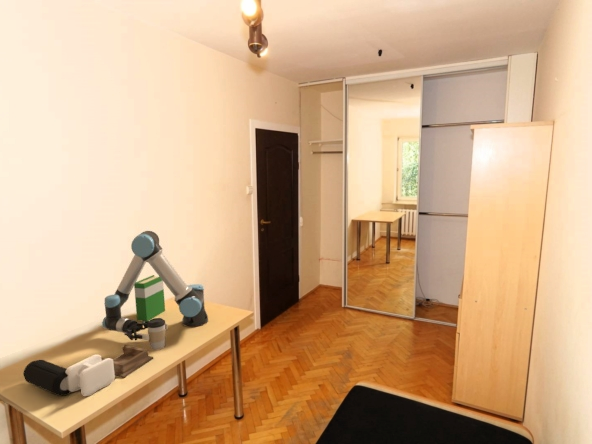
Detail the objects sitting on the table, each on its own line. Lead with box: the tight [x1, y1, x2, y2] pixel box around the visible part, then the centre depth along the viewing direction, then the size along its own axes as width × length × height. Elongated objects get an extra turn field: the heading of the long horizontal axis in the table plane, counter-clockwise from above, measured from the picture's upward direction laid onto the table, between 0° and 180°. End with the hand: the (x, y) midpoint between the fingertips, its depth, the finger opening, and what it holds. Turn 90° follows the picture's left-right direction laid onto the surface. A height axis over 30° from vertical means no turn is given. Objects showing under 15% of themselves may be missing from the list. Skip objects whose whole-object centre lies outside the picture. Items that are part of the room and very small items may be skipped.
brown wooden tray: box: [101, 344, 154, 379], centre depth 175 cm, size 16×18×5 cm
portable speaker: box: [22, 359, 72, 396], centre depth 157 cm, size 26×10×10 cm, turn 63°
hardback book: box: [133, 274, 166, 322], centre depth 233 cm, size 18×7×24 cm, turn 163°
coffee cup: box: [147, 317, 166, 351], centre depth 192 cm, size 9×9×15 cm
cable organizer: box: [65, 354, 116, 397], centre depth 156 cm, size 15×11×12 cm
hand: (157, 332), depth 191 cm, fingers open, 13 cm apart
